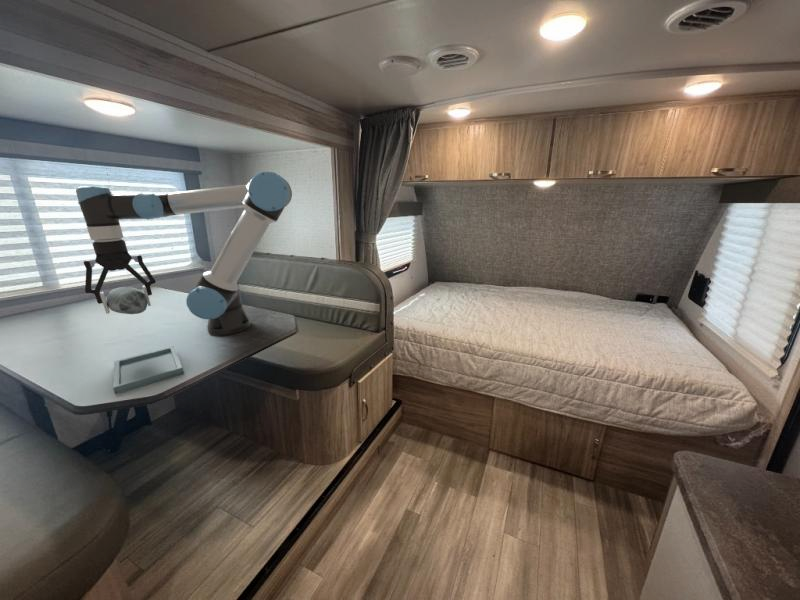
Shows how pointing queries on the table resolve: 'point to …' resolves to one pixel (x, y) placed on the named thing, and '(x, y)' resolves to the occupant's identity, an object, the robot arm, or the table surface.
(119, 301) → the streaked grey egg
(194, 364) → the table surface
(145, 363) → the tray
